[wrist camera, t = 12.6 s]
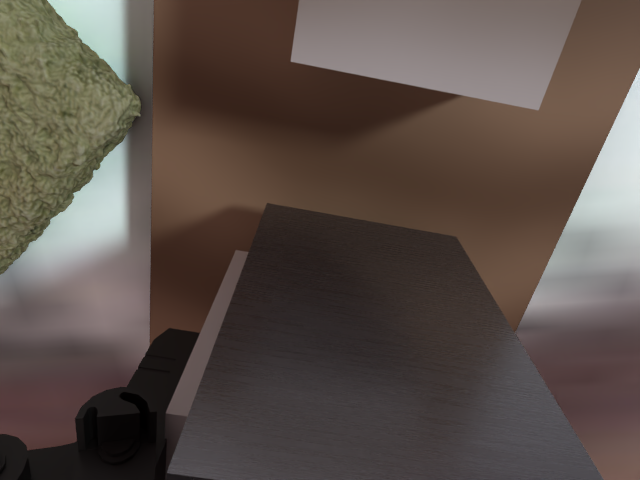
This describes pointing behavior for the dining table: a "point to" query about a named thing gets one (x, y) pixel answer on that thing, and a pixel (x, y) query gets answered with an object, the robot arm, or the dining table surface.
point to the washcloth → (50, 119)
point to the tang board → (378, 127)
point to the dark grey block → (369, 367)
